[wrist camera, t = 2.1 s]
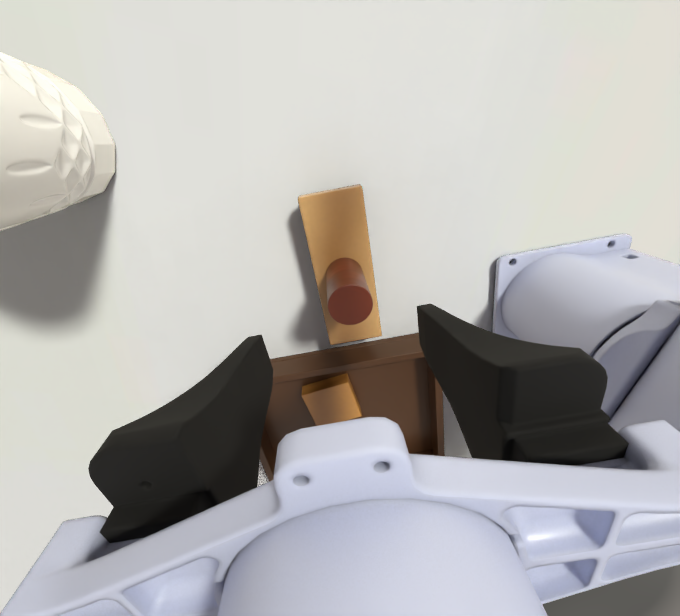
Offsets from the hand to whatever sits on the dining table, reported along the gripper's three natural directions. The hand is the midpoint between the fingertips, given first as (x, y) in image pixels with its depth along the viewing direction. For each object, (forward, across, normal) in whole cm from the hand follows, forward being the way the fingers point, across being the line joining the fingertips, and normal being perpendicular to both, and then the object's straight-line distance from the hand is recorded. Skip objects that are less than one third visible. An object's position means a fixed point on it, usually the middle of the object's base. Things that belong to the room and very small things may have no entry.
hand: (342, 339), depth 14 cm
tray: (+9, +1, +14) cm, 17 cm away
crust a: (+9, +2, +11) cm, 14 cm away
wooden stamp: (+9, -1, 0) cm, 9 cm away
